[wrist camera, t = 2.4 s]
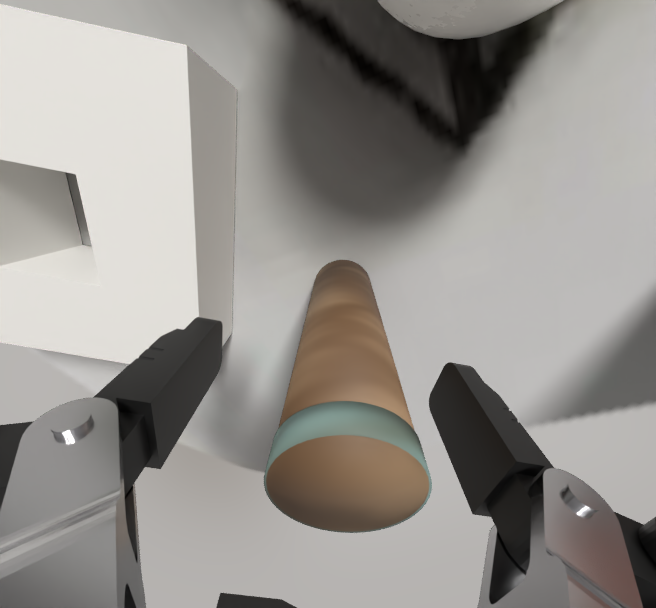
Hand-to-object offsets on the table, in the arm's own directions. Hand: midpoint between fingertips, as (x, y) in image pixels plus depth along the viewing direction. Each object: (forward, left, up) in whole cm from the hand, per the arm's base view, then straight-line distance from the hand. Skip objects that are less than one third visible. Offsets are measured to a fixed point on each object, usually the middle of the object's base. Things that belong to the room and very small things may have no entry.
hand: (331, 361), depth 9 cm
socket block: (+13, -2, -8) cm, 16 cm away
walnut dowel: (-1, 0, -8) cm, 8 cm away
